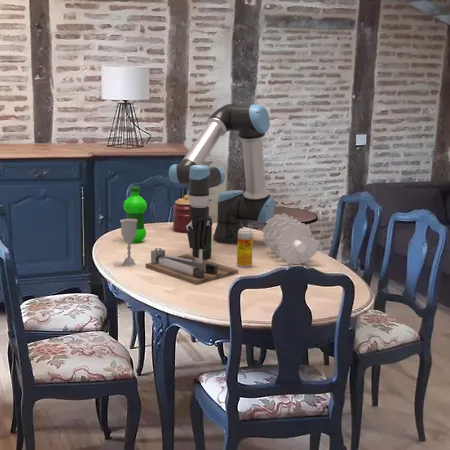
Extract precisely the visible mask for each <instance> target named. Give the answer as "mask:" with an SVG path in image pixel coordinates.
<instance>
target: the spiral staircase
mask: <svg viewBox="0 0 450 450" xmlns="http://www.w3.org/2000/svg"><path fill="white" fill-rule="evenodd" d="M261 232H262V233H263V238H262V243H264V245H265V248H269V249H270V252H271V253H274V254H276V255H277V256H278V257H279V259H282V260H284V261H285V262H286V263H287V264H288V265H289V264H295V265H299V266H300V265H301V264H303V263H308V262H310V261H311V259H312V258H313V257H314V256H315V255H316V254H317V253H318V249H319V244H320V243H321V241H320V240H316V239H315V238H312V237H310V236H311V235H312V230H311V228H310V225H306V224H305V223H302V222H301V221H299V220H298V218H295V219H294V217H293V216H289V215H288V214H287V213H285V212H284V213H282V214H273V217H271V219H270V220H268V221H266V225H265V226H264V227H263V229H262V230H261Z"/></svg>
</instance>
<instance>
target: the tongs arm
mask: <svg viewBox="0 0 450 450" xmlns="http://www.w3.org/2000/svg"><path fill="white" fill-rule="evenodd" d="M164 258H167V259H170V260H173V261H176V262H180V263H183V264H186V265H189V266H192V267H196V268H199V269H202V270H204V272H208V273H212V274H216V273H217V270H218V265H214V264H209V263H204V262H199V261H194V260H189V259H184V258H179V257H178V256H172V255H168V254H167V255H166V254H165V256H164Z"/></svg>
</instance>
